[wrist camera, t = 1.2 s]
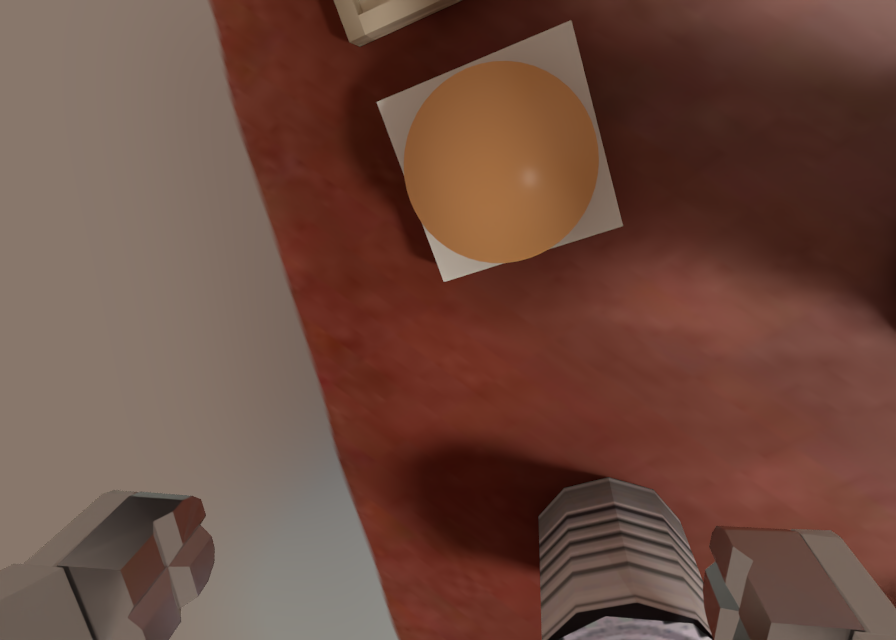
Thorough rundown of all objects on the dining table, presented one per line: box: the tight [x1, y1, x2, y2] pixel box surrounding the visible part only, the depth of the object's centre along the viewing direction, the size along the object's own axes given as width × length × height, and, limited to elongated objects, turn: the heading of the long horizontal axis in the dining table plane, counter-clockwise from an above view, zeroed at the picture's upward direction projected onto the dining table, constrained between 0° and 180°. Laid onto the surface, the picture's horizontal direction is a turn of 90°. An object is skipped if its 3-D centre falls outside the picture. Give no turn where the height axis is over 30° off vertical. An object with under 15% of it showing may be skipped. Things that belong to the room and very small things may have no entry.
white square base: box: [377, 20, 623, 282], centre depth 30 cm, size 11×11×3 cm
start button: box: [404, 61, 599, 263], centre depth 27 cm, size 10×10×2 cm
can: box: [538, 477, 713, 640], centre depth 35 cm, size 11×11×12 cm
